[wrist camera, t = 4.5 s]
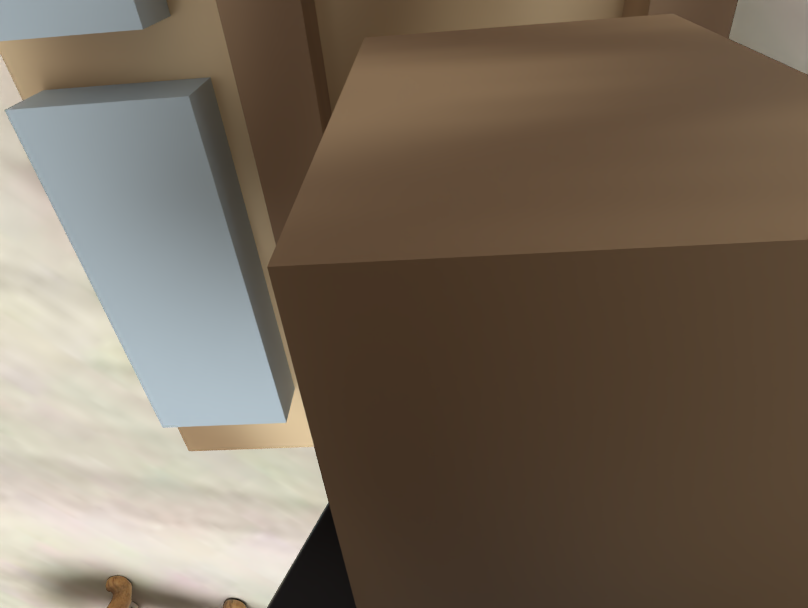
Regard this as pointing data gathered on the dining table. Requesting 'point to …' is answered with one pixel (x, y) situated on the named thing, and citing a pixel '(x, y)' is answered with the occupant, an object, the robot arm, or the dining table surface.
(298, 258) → the tall wooden prism
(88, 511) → the dining table surface
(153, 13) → the small light blue block
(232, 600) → the lion figurine
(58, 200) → the wing slat
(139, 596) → the dining table surface
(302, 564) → the robot arm
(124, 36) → the jig
